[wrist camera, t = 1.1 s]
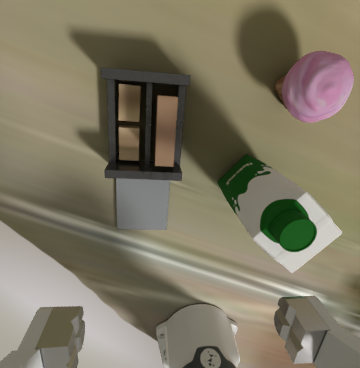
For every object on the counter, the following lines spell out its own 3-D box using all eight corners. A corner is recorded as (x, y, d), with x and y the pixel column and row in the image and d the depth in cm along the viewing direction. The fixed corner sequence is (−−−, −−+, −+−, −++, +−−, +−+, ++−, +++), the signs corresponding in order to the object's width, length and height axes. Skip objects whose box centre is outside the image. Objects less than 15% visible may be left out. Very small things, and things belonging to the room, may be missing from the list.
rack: (177, 168, 42) (181, 180, 36) (111, 165, 41) (104, 178, 35) (184, 77, 37) (190, 75, 31) (109, 70, 35) (100, 67, 30)
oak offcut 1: (140, 120, 39) (139, 122, 36) (120, 118, 38) (118, 120, 36) (141, 86, 37) (140, 86, 35) (121, 84, 36) (118, 83, 34)
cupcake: (254, 83, 38) (286, 81, 29) (301, 44, 37) (350, 29, 28) (282, 127, 41) (319, 138, 32) (326, 92, 40) (378, 93, 31)
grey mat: (166, 228, 46) (166, 229, 45) (117, 227, 45) (117, 229, 44) (169, 178, 42) (169, 179, 42) (116, 176, 41) (116, 177, 41)
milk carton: (246, 146, 42) (321, 192, 23) (277, 179, 45) (365, 243, 26) (209, 182, 43) (251, 251, 25) (241, 211, 46) (301, 293, 28)
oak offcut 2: (139, 156, 41) (138, 160, 38) (121, 155, 40) (119, 159, 38) (140, 126, 39) (139, 128, 37) (120, 125, 39) (118, 127, 36)
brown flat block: (169, 152, 41) (173, 166, 33) (154, 151, 41) (155, 165, 33) (173, 95, 38) (178, 97, 30) (157, 94, 37) (157, 95, 30)
